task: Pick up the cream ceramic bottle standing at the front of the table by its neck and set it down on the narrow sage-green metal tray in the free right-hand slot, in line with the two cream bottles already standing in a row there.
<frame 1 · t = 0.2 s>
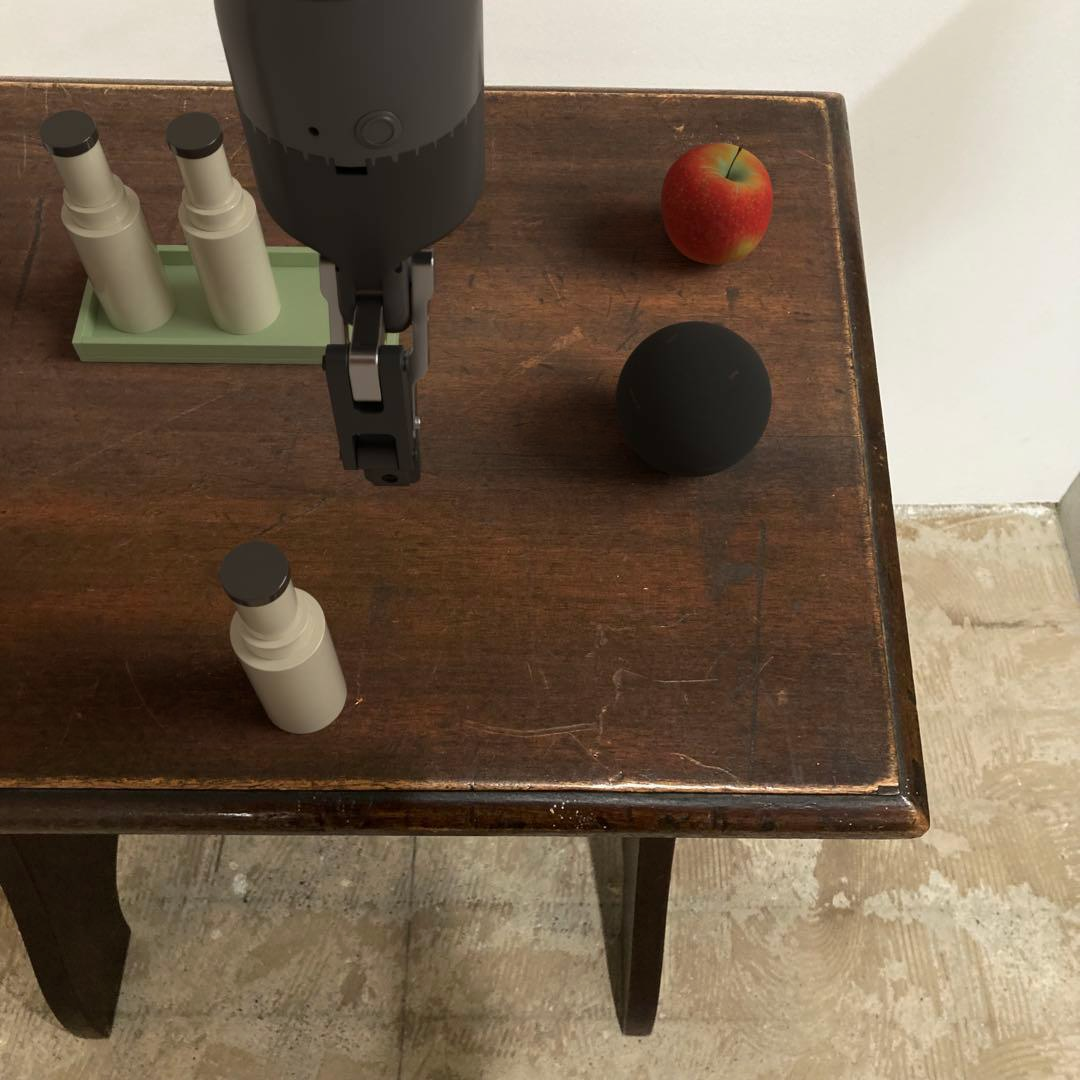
hand: (399, 391, 48), 26 cm above the table, tool pointing down, fingers open, 8 cm apart
bottle a: (141, 306, 83), point 1 cm above the table, touching tray
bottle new: (305, 694, 69), on the table
bottle b: (245, 308, 83), point 1 cm above the table, touching tray
apple: (706, 250, 88), on the table
tray: (247, 313, 83), on the table
black ball: (682, 445, 79), on the table
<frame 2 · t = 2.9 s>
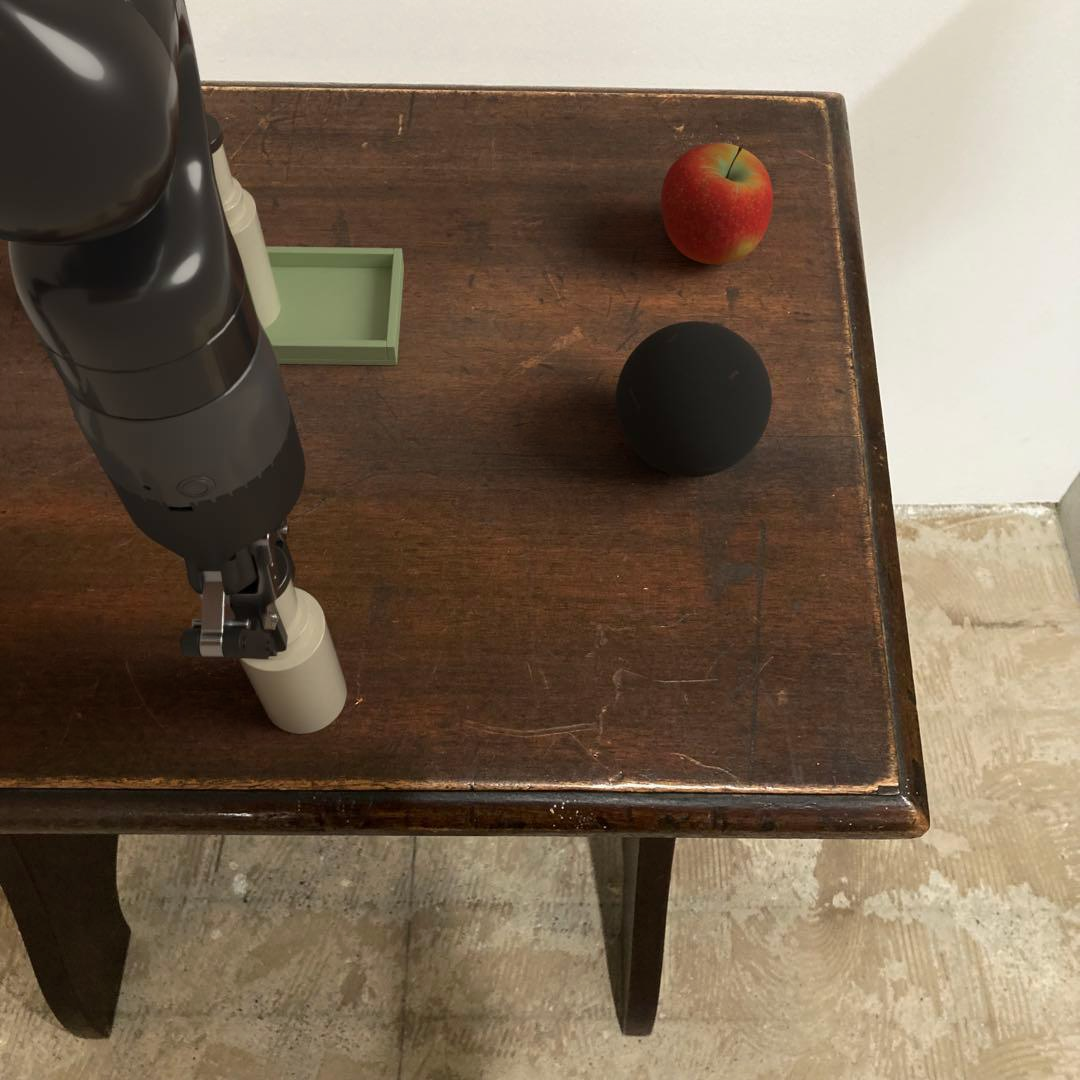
hand: (270, 611, 59), 11 cm above the table, tool pointing down, fingers closed on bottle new, 3 cm apart
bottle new: (305, 694, 69), on the table, touching gripper
everything else where it was.
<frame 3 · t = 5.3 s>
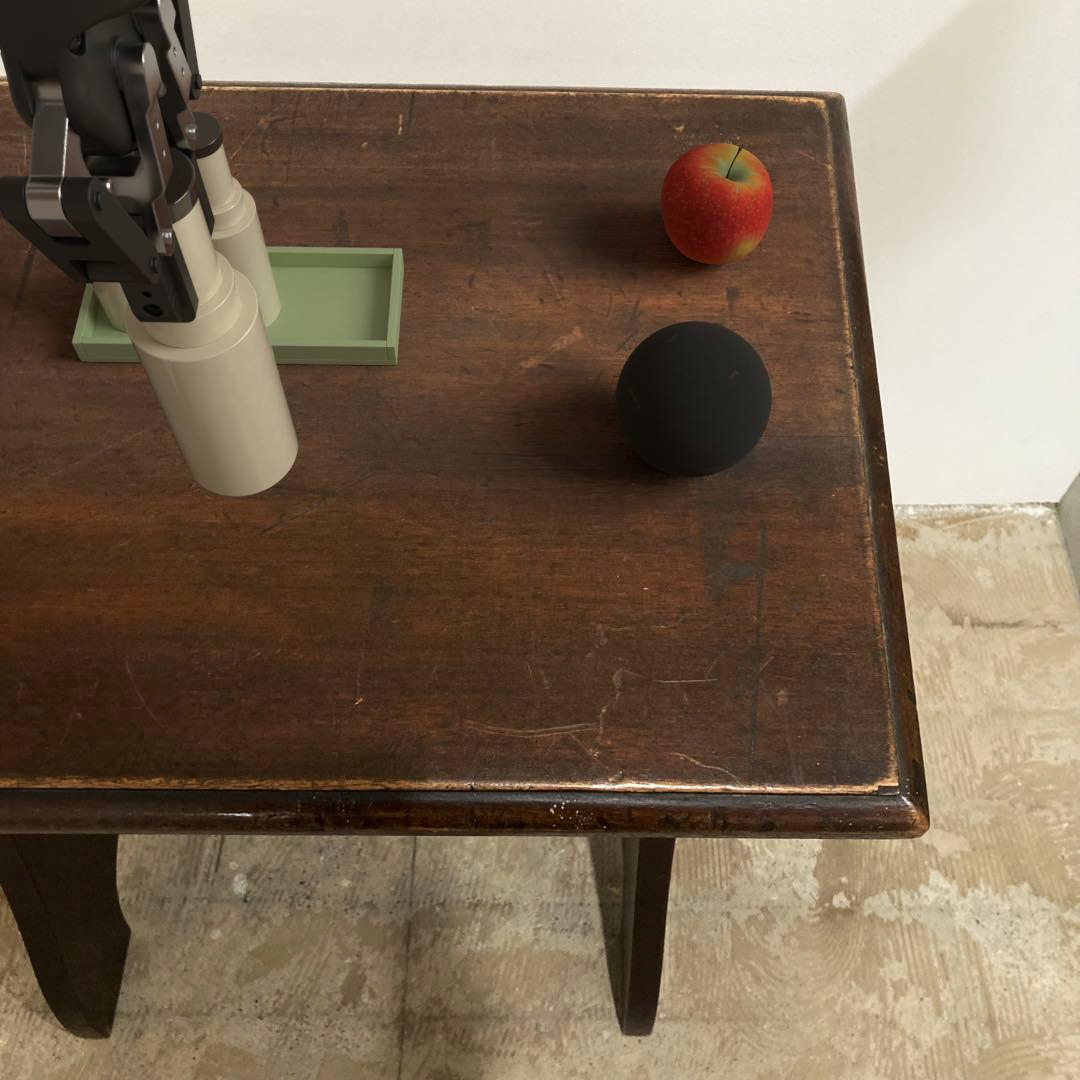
hand: (177, 272, 42), 33 cm above the table, tool pointing down, fingers closed on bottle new, 3 cm apart
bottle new: (242, 449, 52), point 22 cm above the table, touching gripper
everything else where it was.
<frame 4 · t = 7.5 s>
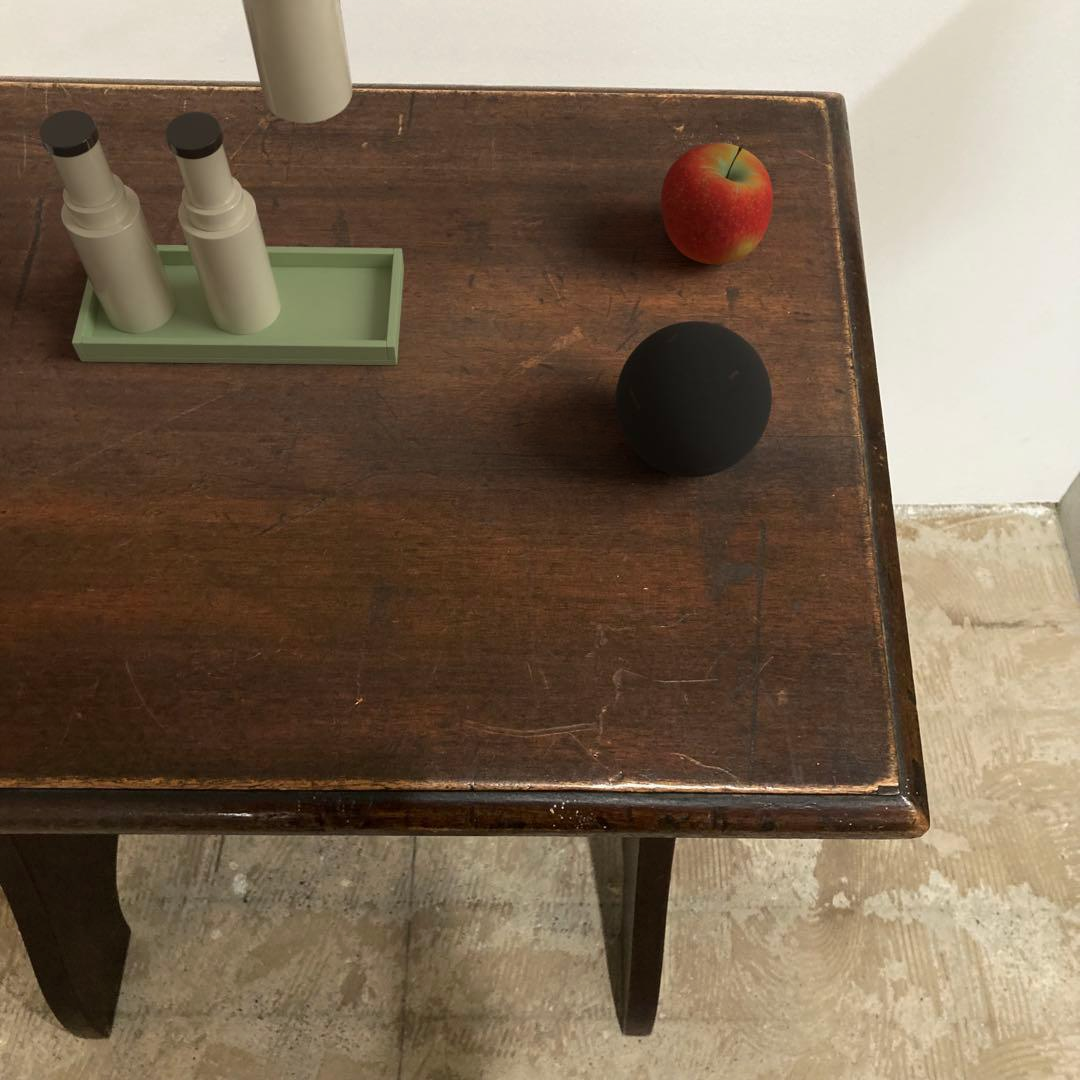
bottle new: (308, 93, 65), point 21 cm above the table, touching gripper
everything else where it was.
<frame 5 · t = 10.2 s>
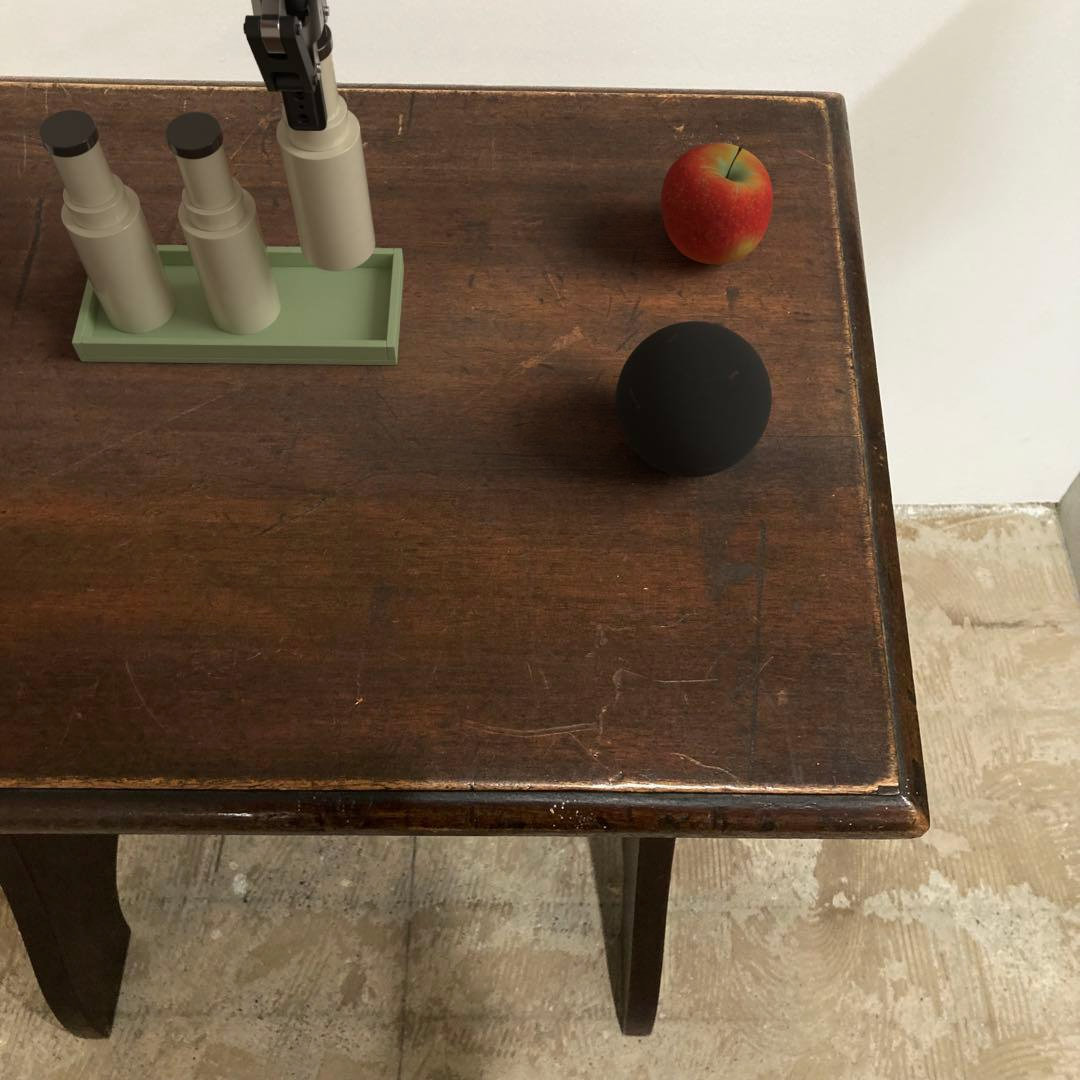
hand: (311, 102, 67), 19 cm above the table, tool pointing down, fingers closed on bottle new, 3 cm apart
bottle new: (338, 244, 77), point 7 cm above the table, touching gripper
everything else where it was.
when the fingers open (12 cm above the table, at t = 12.1 s): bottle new stays where it is, resting on tray.
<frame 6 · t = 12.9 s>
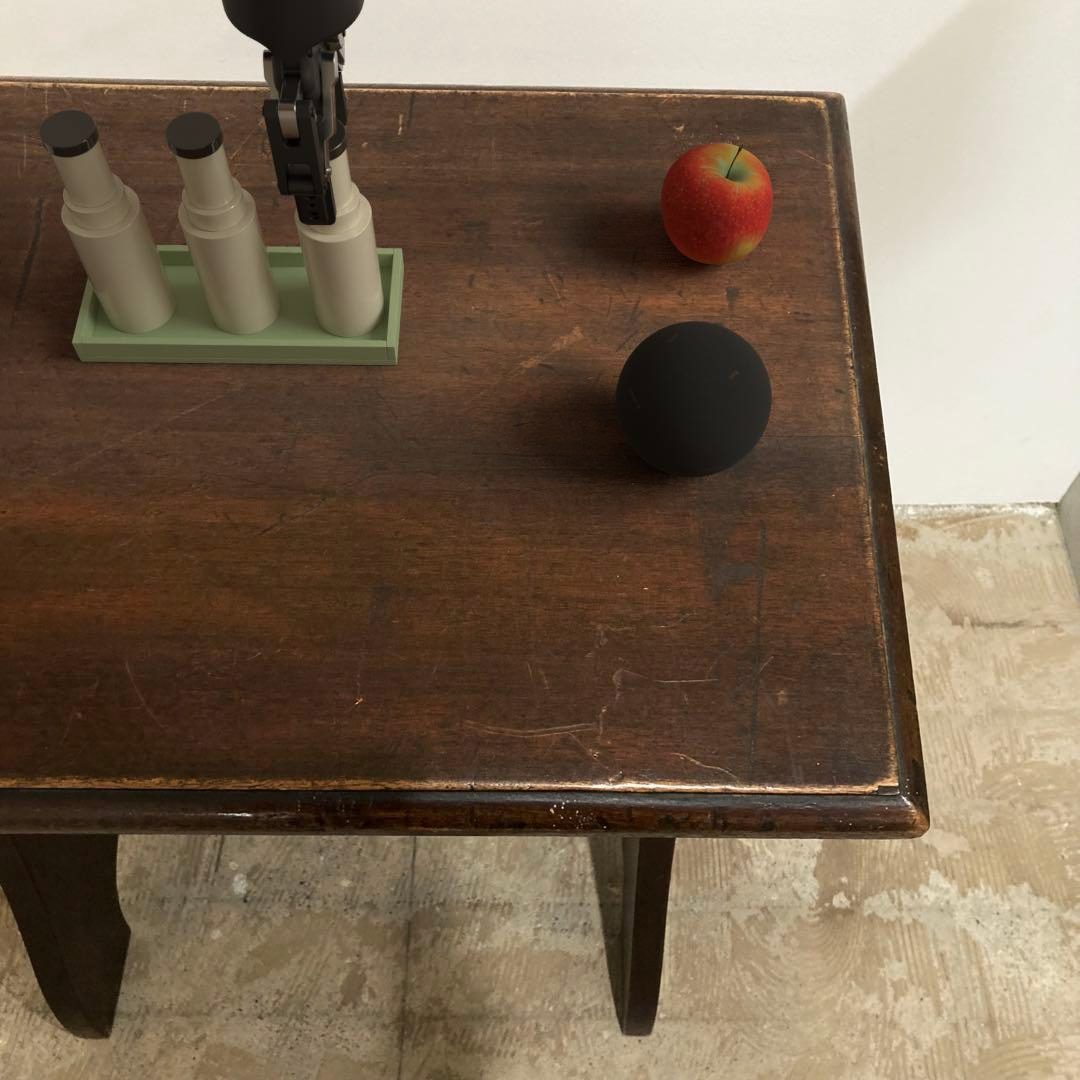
hand: (325, 171, 72), 14 cm above the table, tool pointing down, fingers open, 8 cm apart
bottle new: (350, 310, 83), point 1 cm above the table, touching tray
everything else where it was.
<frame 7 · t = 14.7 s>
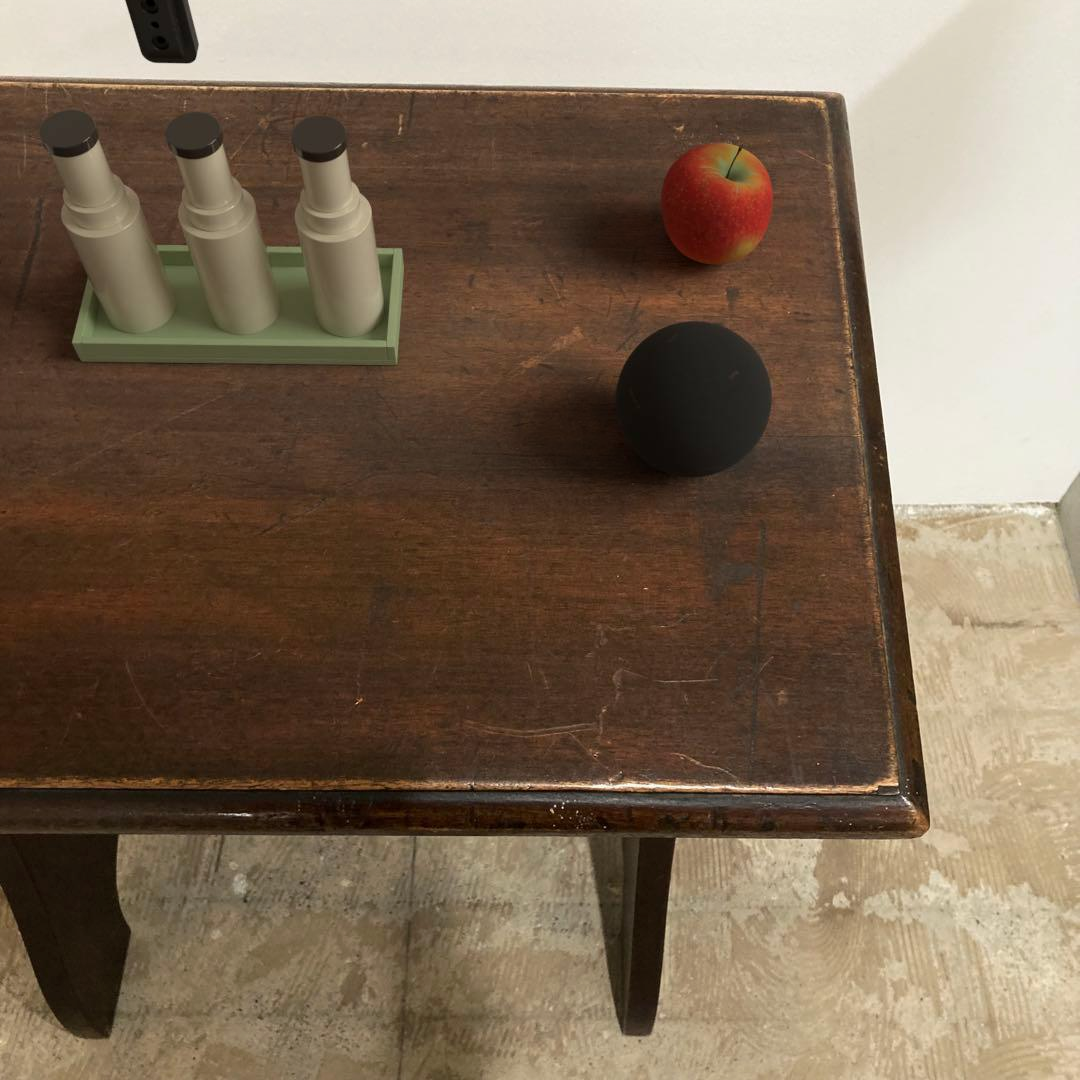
nothing on the table moved.
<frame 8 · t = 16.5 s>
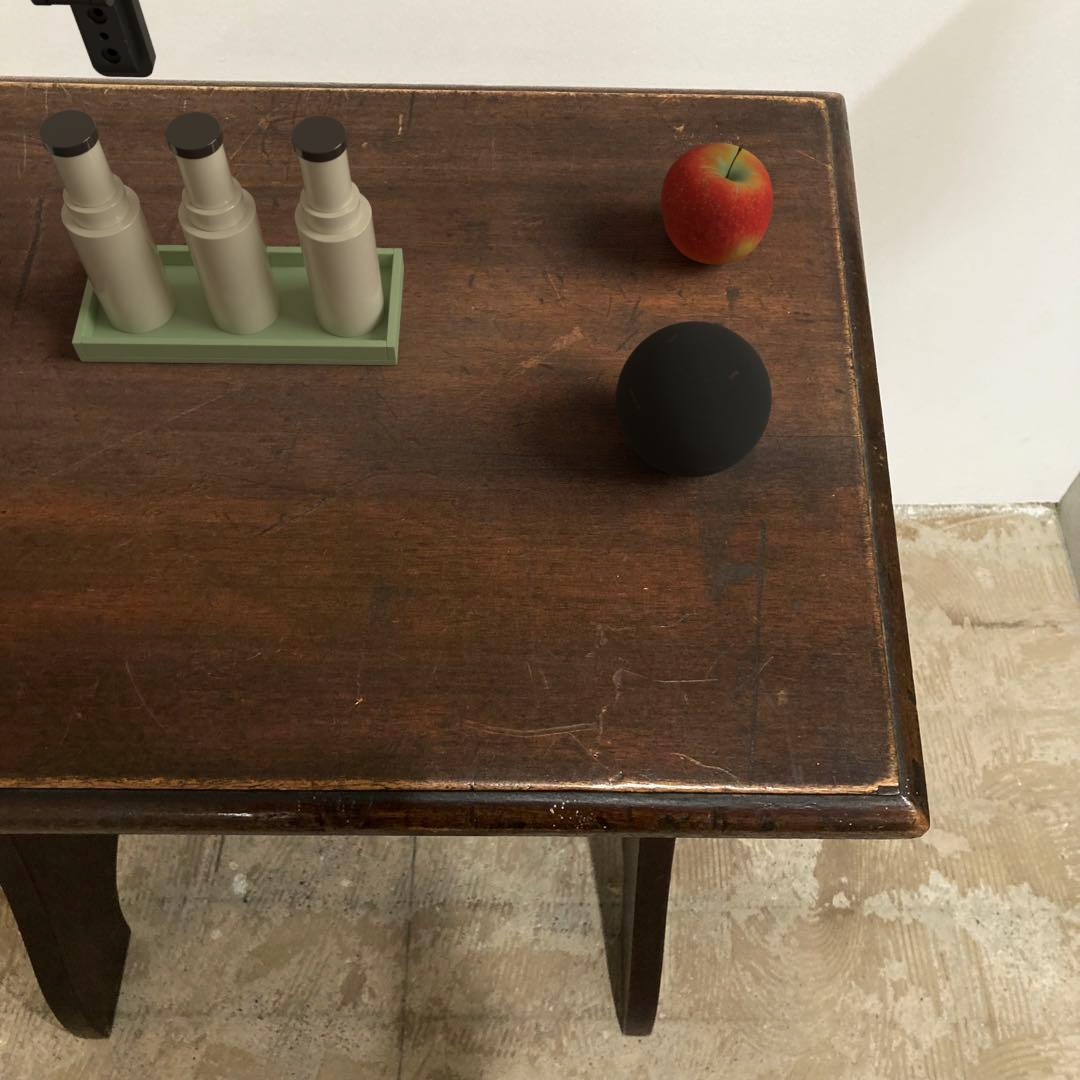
nothing on the table moved.
at the end: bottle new 0.1 cm from the target spot in the tray, point 0.6 cm above the tray's base; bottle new tilted 0°; the gripper is holding nothing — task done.
